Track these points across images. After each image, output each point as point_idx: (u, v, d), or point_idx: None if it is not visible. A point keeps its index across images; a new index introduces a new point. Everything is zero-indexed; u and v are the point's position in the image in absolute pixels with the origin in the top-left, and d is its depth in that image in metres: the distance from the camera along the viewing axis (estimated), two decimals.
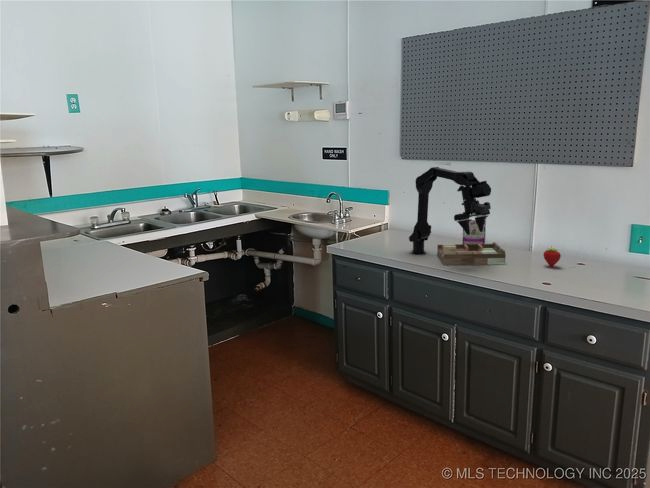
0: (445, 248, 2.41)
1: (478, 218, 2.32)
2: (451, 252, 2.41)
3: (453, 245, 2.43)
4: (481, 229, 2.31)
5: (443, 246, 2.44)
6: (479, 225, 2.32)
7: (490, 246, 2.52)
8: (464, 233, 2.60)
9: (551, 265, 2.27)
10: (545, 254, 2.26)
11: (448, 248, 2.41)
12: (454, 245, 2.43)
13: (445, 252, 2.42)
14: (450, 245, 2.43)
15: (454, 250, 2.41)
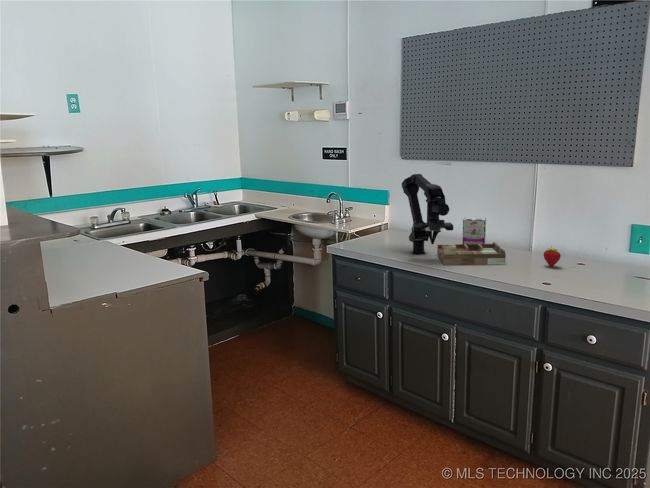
0: (445, 248, 2.41)
1: (433, 231, 2.43)
2: (451, 252, 2.41)
3: (453, 245, 2.43)
4: None
5: (443, 246, 2.44)
6: (432, 237, 2.44)
7: (490, 246, 2.52)
8: (464, 233, 2.60)
9: (551, 265, 2.27)
10: (545, 254, 2.26)
11: (448, 248, 2.41)
12: (454, 245, 2.43)
13: (445, 252, 2.42)
14: (450, 245, 2.43)
15: (454, 250, 2.41)
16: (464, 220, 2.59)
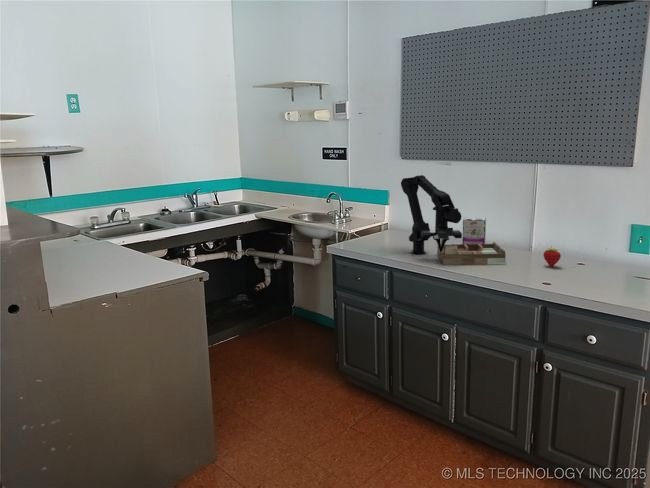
0: (446, 248, 2.41)
1: (442, 238, 2.44)
2: (452, 252, 2.41)
3: (454, 245, 2.43)
4: None
5: (444, 246, 2.43)
6: None
7: (490, 246, 2.52)
8: (464, 233, 2.60)
9: (551, 265, 2.27)
10: (545, 254, 2.26)
11: (449, 248, 2.41)
12: (455, 245, 2.43)
13: (446, 252, 2.42)
14: (451, 245, 2.43)
15: (455, 250, 2.41)
16: (464, 220, 2.59)
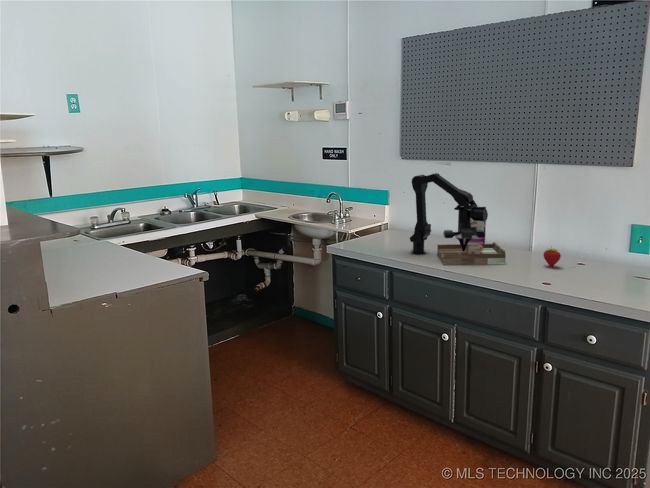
0: (469, 248, 2.40)
1: (464, 238, 2.43)
2: (475, 252, 2.41)
3: (477, 245, 2.42)
4: None
5: (467, 246, 2.43)
6: None
7: (490, 246, 2.52)
8: None
9: (551, 265, 2.27)
10: (545, 254, 2.26)
11: (472, 248, 2.40)
12: (478, 245, 2.42)
13: (469, 252, 2.41)
14: (474, 245, 2.42)
15: (478, 250, 2.40)
16: None
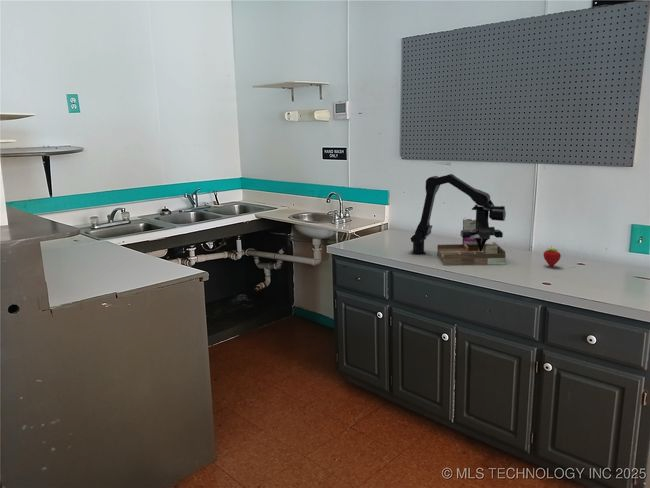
0: (487, 247, 2.40)
1: (482, 238, 2.42)
2: (492, 252, 2.40)
3: (494, 244, 2.42)
4: None
5: (484, 245, 2.42)
6: None
7: None
8: None
9: (551, 265, 2.27)
10: (545, 254, 2.26)
11: (490, 247, 2.40)
12: (495, 244, 2.42)
13: (486, 251, 2.40)
14: (491, 244, 2.42)
15: (496, 249, 2.40)
16: (464, 220, 2.59)
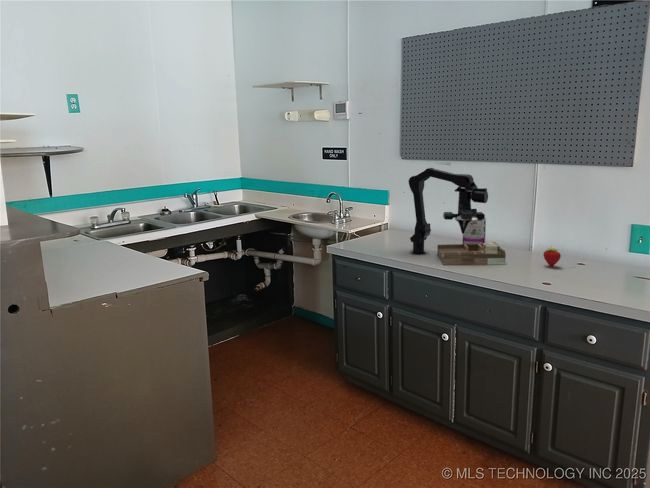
0: (487, 247, 2.40)
1: (464, 220, 2.43)
2: (492, 252, 2.40)
3: (494, 244, 2.42)
4: None
5: (484, 245, 2.42)
6: (463, 226, 2.44)
7: None
8: (464, 233, 2.60)
9: (551, 265, 2.27)
10: (545, 254, 2.26)
11: (490, 247, 2.40)
12: (495, 244, 2.42)
13: (486, 251, 2.40)
14: (491, 244, 2.42)
15: (496, 249, 2.40)
16: None
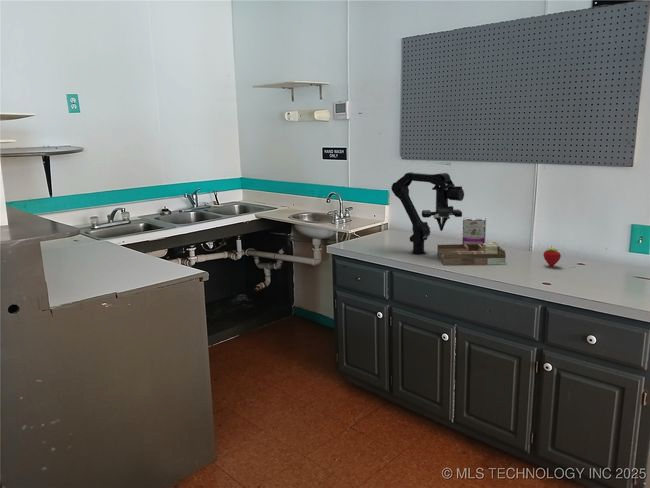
0: (487, 247, 2.40)
1: (442, 217, 2.47)
2: (492, 252, 2.40)
3: (494, 244, 2.42)
4: None
5: (484, 245, 2.42)
6: (441, 224, 2.48)
7: None
8: (464, 233, 2.60)
9: (551, 265, 2.27)
10: (545, 254, 2.26)
11: (490, 247, 2.40)
12: (495, 244, 2.42)
13: (486, 251, 2.40)
14: (491, 244, 2.42)
15: (496, 249, 2.40)
16: (464, 220, 2.59)
